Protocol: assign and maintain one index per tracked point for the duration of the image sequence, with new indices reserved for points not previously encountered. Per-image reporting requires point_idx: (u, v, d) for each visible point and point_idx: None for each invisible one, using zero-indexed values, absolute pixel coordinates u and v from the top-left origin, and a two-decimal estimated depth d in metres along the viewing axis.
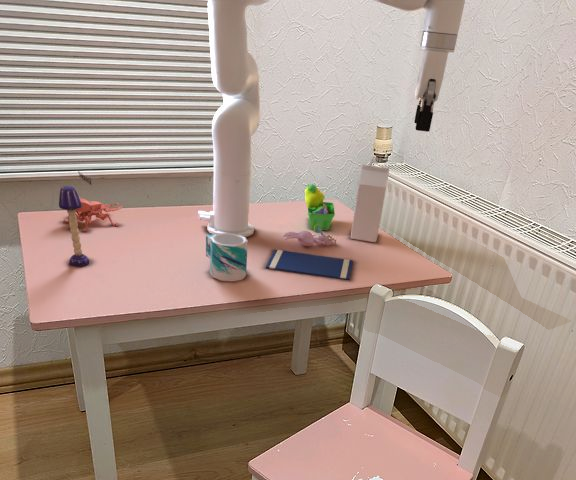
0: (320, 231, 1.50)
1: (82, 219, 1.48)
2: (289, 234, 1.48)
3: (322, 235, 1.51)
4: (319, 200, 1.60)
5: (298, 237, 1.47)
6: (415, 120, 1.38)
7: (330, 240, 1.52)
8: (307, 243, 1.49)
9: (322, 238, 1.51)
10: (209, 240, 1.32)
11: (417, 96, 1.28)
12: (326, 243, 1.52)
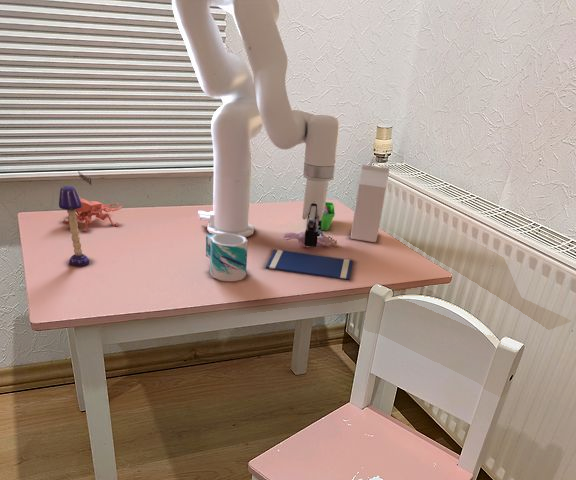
0: (320, 232, 1.50)
1: (82, 219, 1.48)
2: (289, 235, 1.47)
3: (322, 236, 1.51)
4: None
5: (298, 238, 1.46)
6: None
7: (330, 241, 1.51)
8: None
9: (322, 239, 1.51)
10: (209, 240, 1.32)
11: (303, 217, 1.43)
12: (326, 244, 1.51)
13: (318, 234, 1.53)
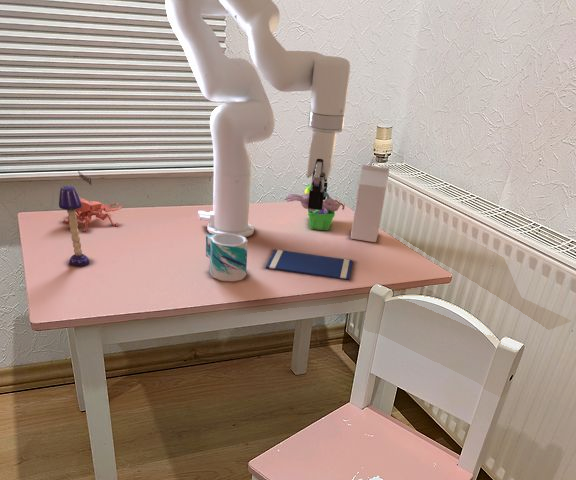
0: (326, 194, 1.33)
1: (82, 219, 1.48)
2: (291, 196, 1.31)
3: (329, 199, 1.34)
4: None
5: (301, 200, 1.30)
6: None
7: (338, 205, 1.35)
8: None
9: (329, 202, 1.34)
10: (209, 240, 1.32)
11: (307, 175, 1.26)
12: (333, 208, 1.34)
13: (323, 197, 1.37)
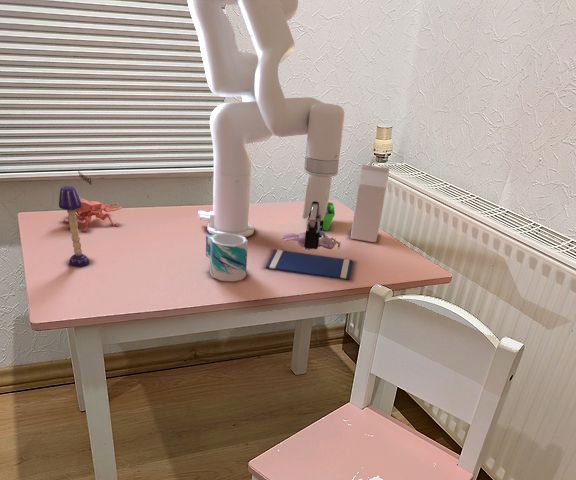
0: (322, 233, 1.36)
1: (82, 219, 1.48)
2: (288, 236, 1.34)
3: (324, 237, 1.37)
4: None
5: (298, 239, 1.33)
6: None
7: (333, 243, 1.38)
8: None
9: (325, 240, 1.37)
10: (209, 240, 1.32)
11: (303, 216, 1.30)
12: (329, 246, 1.38)
13: (320, 235, 1.40)
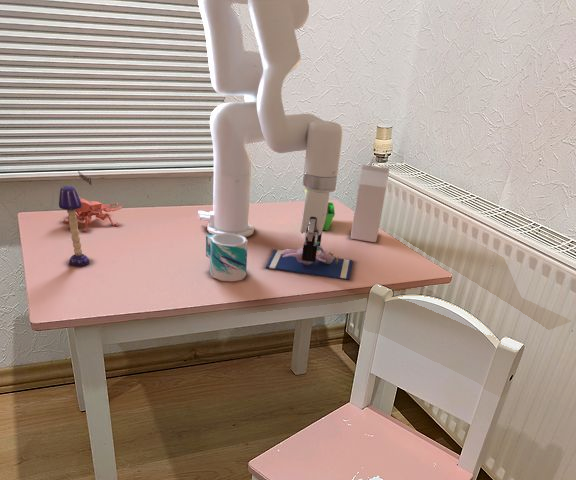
0: (320, 248, 1.39)
1: (82, 219, 1.48)
2: (286, 251, 1.36)
3: (323, 253, 1.39)
4: None
5: (296, 255, 1.35)
6: None
7: (331, 258, 1.40)
8: (306, 262, 1.37)
9: (323, 256, 1.39)
10: (209, 240, 1.32)
11: (301, 231, 1.32)
12: (327, 261, 1.40)
13: (318, 245, 1.43)
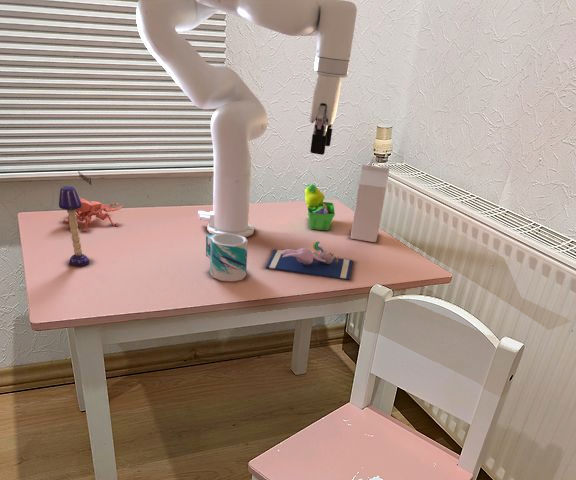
0: (320, 248, 1.39)
1: (82, 219, 1.48)
2: (286, 251, 1.36)
3: (323, 253, 1.39)
4: (319, 200, 1.60)
5: (296, 255, 1.35)
6: None
7: (331, 258, 1.40)
8: (306, 262, 1.37)
9: (323, 256, 1.39)
10: (209, 240, 1.32)
11: (310, 119, 1.28)
12: (327, 261, 1.40)
13: (328, 143, 1.39)
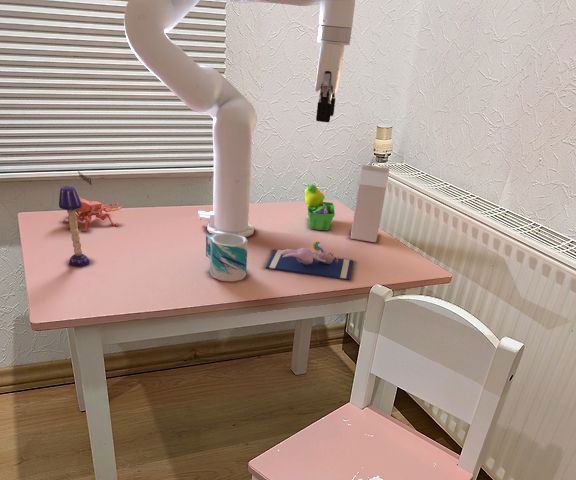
0: (320, 248, 1.39)
1: (82, 219, 1.48)
2: (286, 251, 1.36)
3: (323, 253, 1.39)
4: (319, 200, 1.60)
5: (296, 255, 1.35)
6: None
7: (331, 258, 1.40)
8: (306, 262, 1.37)
9: (323, 256, 1.39)
10: (209, 240, 1.32)
11: (315, 88, 1.32)
12: (327, 261, 1.40)
13: (331, 113, 1.42)
